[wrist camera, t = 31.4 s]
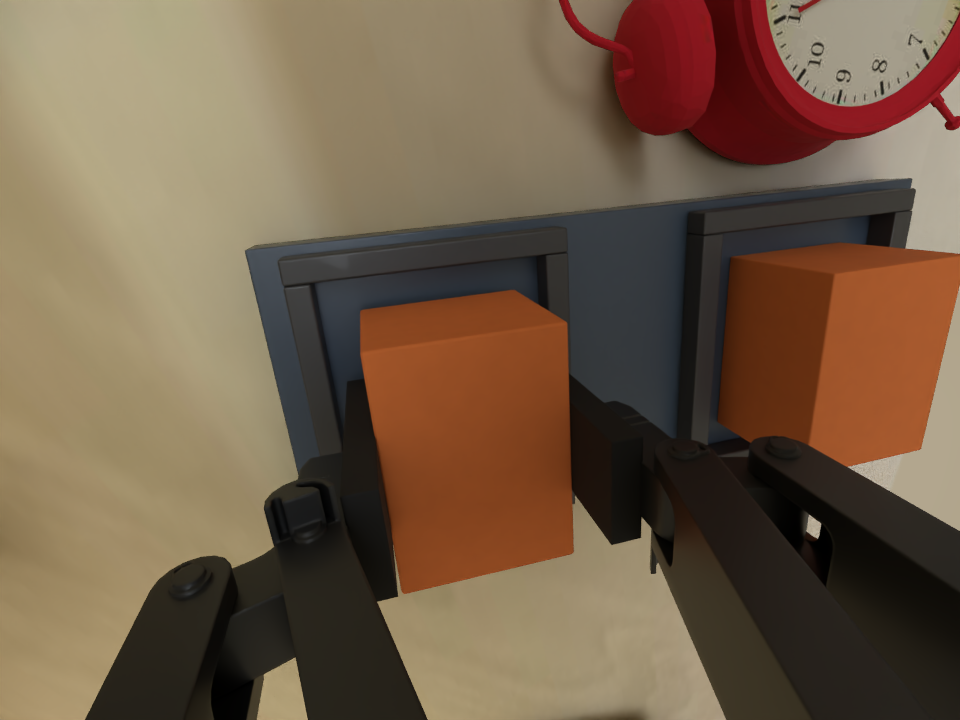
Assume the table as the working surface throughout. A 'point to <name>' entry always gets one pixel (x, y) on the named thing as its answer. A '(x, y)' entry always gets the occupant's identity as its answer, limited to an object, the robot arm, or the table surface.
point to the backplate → (560, 294)
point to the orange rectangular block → (470, 433)
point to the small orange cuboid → (836, 346)
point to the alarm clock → (780, 69)
